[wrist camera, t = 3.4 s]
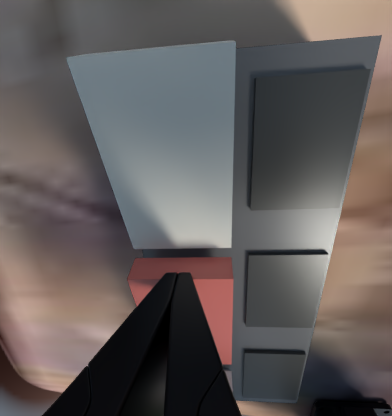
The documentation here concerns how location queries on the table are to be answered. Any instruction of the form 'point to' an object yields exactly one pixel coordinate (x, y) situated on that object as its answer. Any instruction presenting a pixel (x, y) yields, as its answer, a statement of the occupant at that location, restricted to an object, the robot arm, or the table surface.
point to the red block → (206, 287)
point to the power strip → (287, 200)
